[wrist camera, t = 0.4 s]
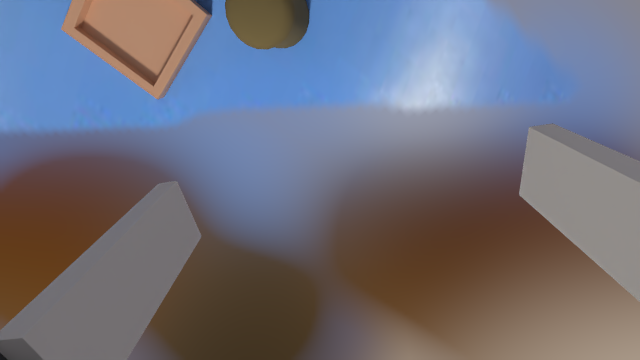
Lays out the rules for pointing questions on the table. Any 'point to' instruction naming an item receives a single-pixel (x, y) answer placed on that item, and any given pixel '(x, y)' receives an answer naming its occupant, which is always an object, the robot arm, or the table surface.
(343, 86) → the table surface
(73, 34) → the terracotta dish
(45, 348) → the robot arm
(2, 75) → the table surface
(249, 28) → the cork
